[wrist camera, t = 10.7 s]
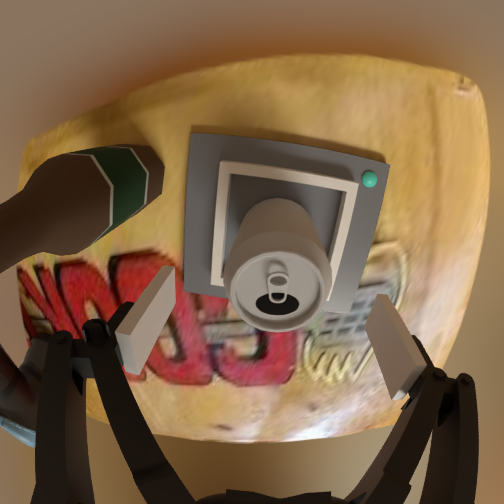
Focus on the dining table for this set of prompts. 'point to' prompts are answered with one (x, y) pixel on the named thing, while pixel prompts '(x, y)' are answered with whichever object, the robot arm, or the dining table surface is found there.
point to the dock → (286, 187)
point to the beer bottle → (78, 200)
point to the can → (277, 267)
